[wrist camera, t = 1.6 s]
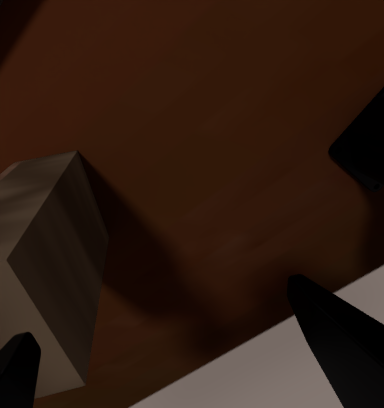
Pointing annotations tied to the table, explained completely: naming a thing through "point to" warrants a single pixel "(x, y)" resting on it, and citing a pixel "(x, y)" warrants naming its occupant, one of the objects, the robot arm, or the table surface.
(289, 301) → the robot arm
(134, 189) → the table surface
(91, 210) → the streaky grey slab
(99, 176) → the table surface
